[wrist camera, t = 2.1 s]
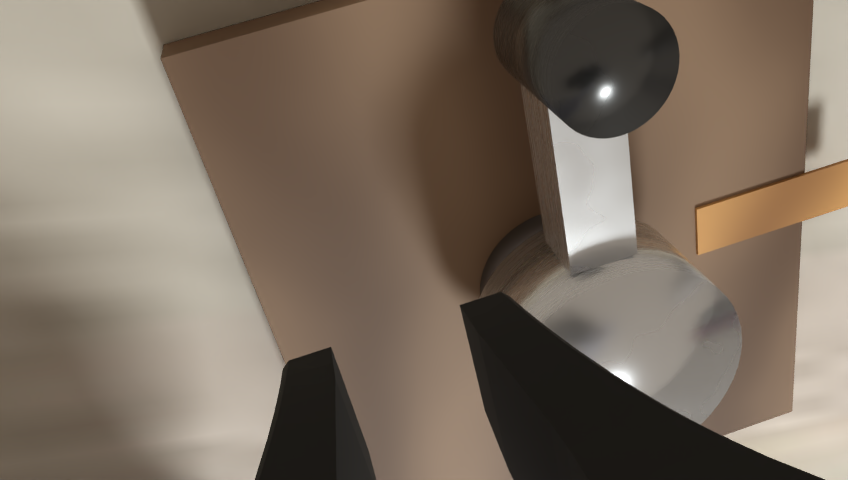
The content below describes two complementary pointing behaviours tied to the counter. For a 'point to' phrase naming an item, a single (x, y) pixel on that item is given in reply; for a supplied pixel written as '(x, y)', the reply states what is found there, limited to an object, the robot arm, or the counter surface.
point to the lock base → (485, 194)
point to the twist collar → (608, 204)
